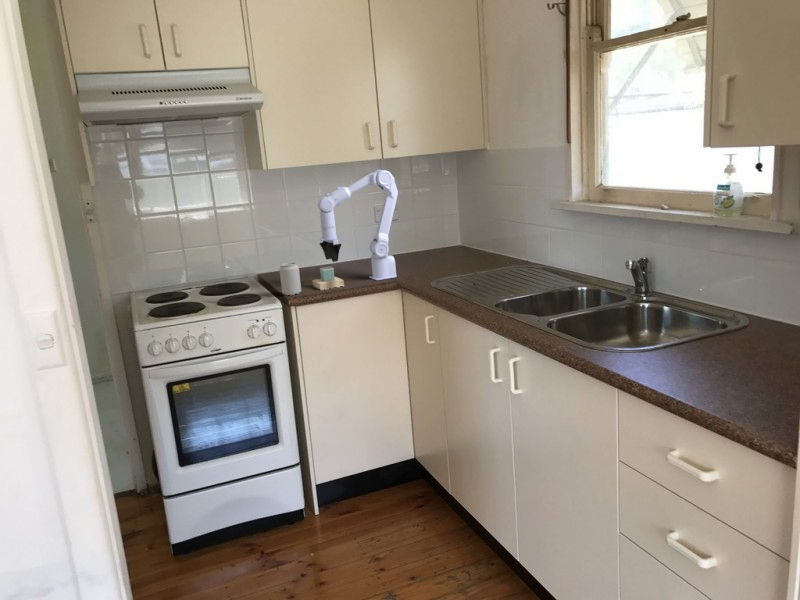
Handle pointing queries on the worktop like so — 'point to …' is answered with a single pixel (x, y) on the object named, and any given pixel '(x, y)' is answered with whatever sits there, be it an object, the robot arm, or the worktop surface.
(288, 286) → the can
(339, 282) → the beige square slab
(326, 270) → the tin
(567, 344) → the worktop surface
